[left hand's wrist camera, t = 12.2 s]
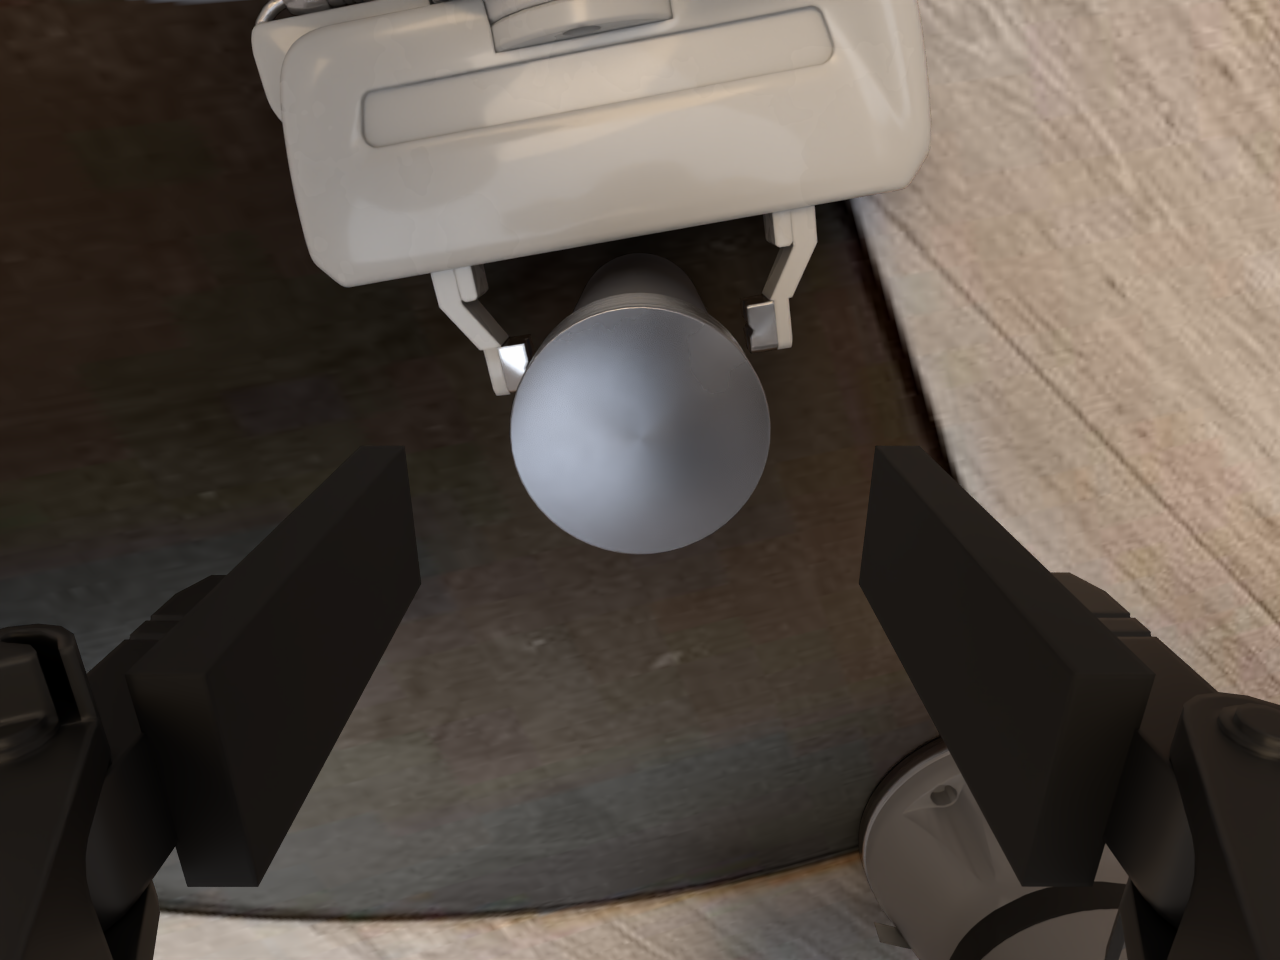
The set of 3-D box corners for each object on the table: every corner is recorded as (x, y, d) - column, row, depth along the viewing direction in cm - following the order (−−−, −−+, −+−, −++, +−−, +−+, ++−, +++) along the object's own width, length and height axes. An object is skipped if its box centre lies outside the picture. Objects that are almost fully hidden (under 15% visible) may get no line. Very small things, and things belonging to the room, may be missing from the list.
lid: (482, 344, 19) (464, 364, 17) (712, 254, 18) (721, 263, 16) (576, 548, 21) (570, 586, 19) (787, 475, 20) (803, 506, 18)
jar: (559, 280, 33) (490, 369, 18) (676, 233, 32) (709, 284, 17) (606, 393, 35) (580, 561, 19) (717, 351, 34) (780, 491, 19)
